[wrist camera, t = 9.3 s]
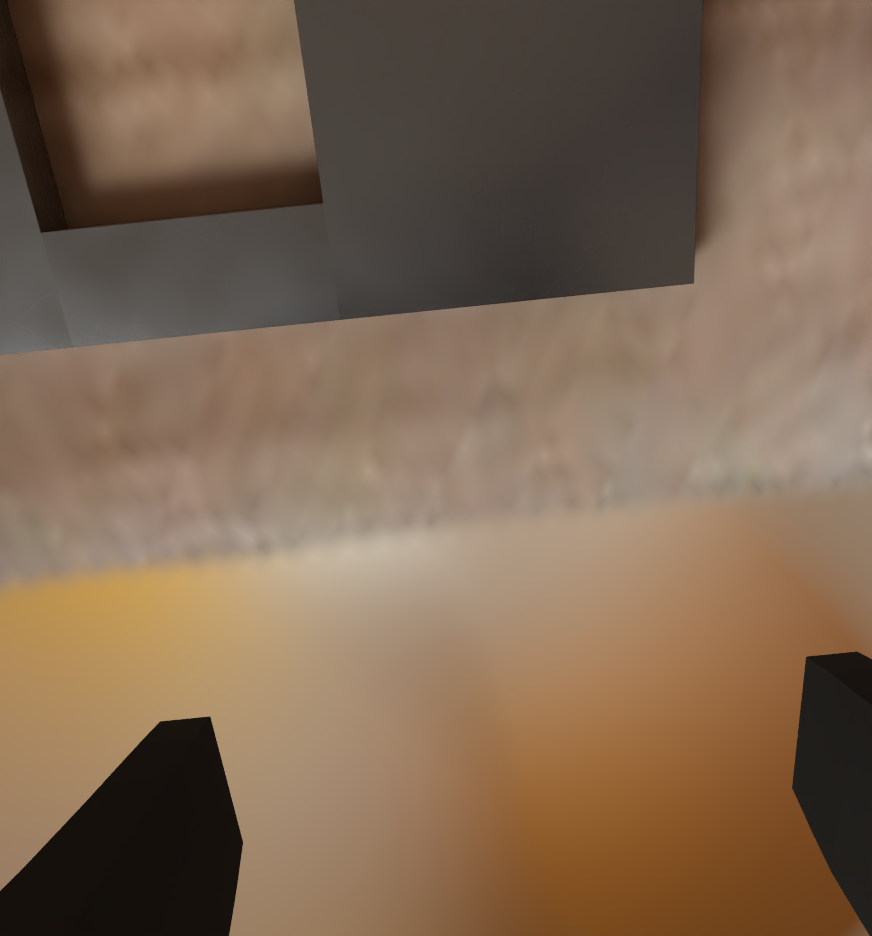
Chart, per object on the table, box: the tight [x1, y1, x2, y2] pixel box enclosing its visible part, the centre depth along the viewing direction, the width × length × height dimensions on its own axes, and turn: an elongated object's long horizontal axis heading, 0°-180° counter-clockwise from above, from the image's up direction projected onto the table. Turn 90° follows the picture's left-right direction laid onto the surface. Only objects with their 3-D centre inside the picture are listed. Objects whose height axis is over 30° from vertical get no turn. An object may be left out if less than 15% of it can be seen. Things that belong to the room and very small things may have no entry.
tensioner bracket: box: [0, 0, 703, 355], centre depth 14 cm, size 20×10×1 cm, turn 95°
